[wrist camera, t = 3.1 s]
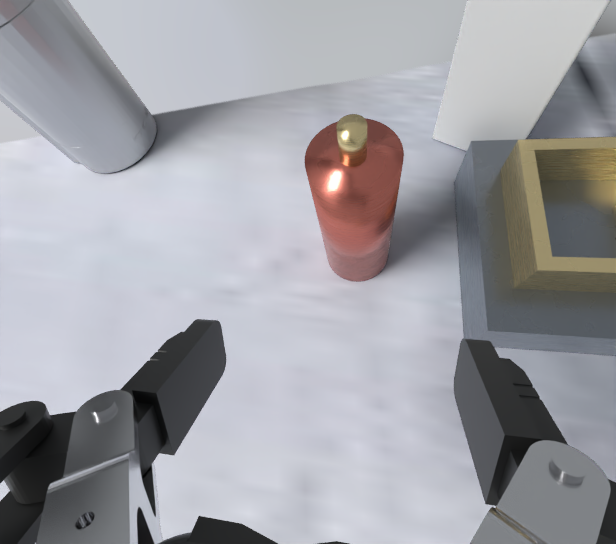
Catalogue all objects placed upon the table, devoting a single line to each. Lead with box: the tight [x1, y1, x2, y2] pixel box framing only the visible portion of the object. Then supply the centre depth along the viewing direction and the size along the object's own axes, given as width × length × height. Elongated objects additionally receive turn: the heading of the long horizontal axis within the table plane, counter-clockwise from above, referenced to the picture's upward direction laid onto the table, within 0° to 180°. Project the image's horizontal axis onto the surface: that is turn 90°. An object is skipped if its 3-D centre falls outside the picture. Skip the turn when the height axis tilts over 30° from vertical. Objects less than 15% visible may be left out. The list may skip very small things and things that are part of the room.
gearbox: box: [454, 137, 616, 356], centre depth 22 cm, size 13×14×8 cm
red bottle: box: [305, 114, 404, 281], centre depth 22 cm, size 5×5×14 cm
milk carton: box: [433, 0, 611, 151], centre depth 22 cm, size 7×7×19 cm
